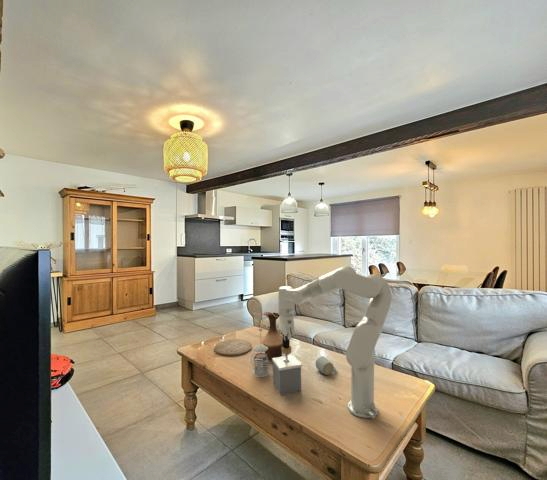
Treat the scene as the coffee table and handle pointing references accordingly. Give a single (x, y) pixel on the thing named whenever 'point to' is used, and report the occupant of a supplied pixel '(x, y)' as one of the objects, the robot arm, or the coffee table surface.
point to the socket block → (286, 374)
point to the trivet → (233, 347)
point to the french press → (260, 361)
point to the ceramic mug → (325, 366)
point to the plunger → (286, 352)
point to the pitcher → (272, 337)
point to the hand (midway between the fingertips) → (286, 347)
